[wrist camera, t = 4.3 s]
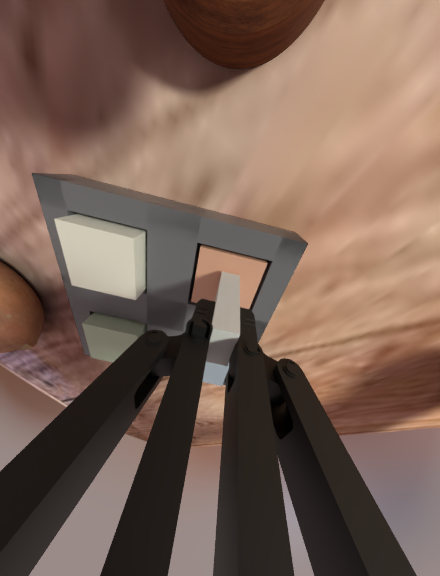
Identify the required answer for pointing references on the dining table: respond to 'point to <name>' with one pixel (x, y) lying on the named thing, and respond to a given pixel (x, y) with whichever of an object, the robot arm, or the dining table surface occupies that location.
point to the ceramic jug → (18, 312)
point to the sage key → (110, 335)
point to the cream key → (104, 255)
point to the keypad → (165, 251)
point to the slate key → (215, 373)
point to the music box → (242, 27)
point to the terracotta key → (230, 262)
